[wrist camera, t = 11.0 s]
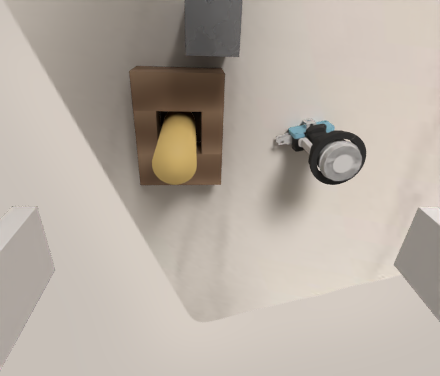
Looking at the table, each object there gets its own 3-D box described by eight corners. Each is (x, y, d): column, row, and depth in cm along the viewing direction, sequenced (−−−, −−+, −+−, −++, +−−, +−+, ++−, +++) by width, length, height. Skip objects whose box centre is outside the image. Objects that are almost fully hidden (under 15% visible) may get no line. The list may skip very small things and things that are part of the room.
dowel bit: (163, 106, 34) (150, 143, 24) (195, 107, 35) (196, 143, 24) (164, 137, 36) (153, 184, 26) (195, 137, 36) (196, 184, 26)
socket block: (136, 66, 32) (129, 71, 29) (221, 68, 33) (225, 73, 29) (145, 170, 38) (140, 185, 34) (218, 170, 39) (220, 184, 35)
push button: (276, 157, 38) (301, 196, 30) (272, 115, 36) (298, 145, 27) (329, 146, 38) (369, 183, 29) (328, 104, 36) (373, 130, 27)
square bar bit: (186, 0, 30) (184, -9, 22) (229, 2, 30) (242, -6, 22) (187, 47, 32) (185, 55, 24) (227, 49, 32) (239, 56, 24)
